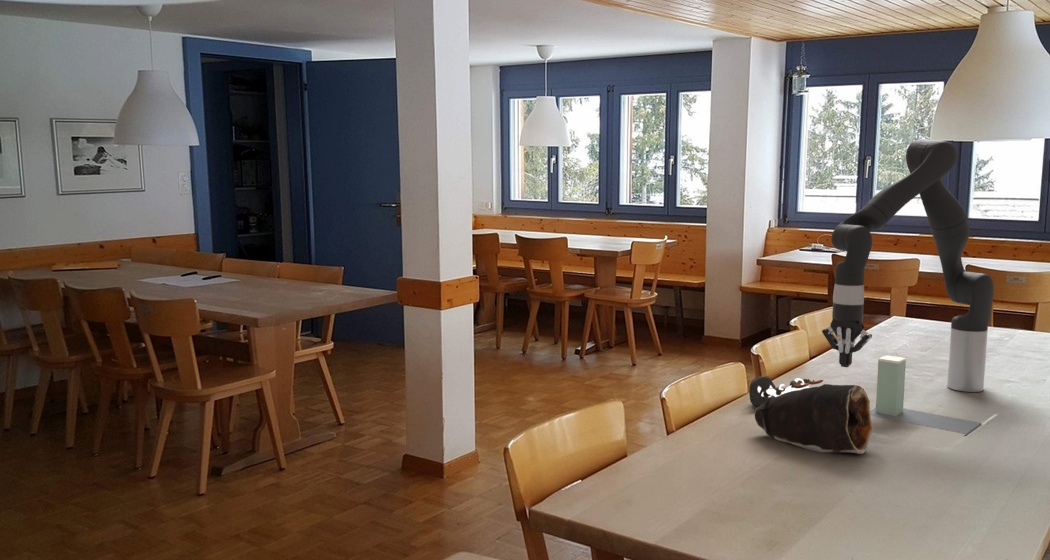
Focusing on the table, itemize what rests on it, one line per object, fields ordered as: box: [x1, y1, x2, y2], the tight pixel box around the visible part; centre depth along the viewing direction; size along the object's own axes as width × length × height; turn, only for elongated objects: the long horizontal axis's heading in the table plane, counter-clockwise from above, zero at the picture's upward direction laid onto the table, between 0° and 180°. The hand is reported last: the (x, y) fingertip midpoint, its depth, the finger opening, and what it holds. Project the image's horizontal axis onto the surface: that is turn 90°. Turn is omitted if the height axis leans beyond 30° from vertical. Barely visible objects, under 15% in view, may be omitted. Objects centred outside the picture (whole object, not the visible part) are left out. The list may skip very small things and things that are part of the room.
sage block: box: [875, 354, 907, 416], centre depth 219 cm, size 5×5×14 cm
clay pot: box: [754, 383, 873, 455], centre depth 197 cm, size 15×15×25 cm
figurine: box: [748, 375, 824, 408], centre depth 225 cm, size 14×10×18 cm
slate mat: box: [870, 407, 983, 437], centre depth 215 cm, size 12×24×1 cm, turn 47°
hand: (845, 366), depth 227 cm, fingers closed
